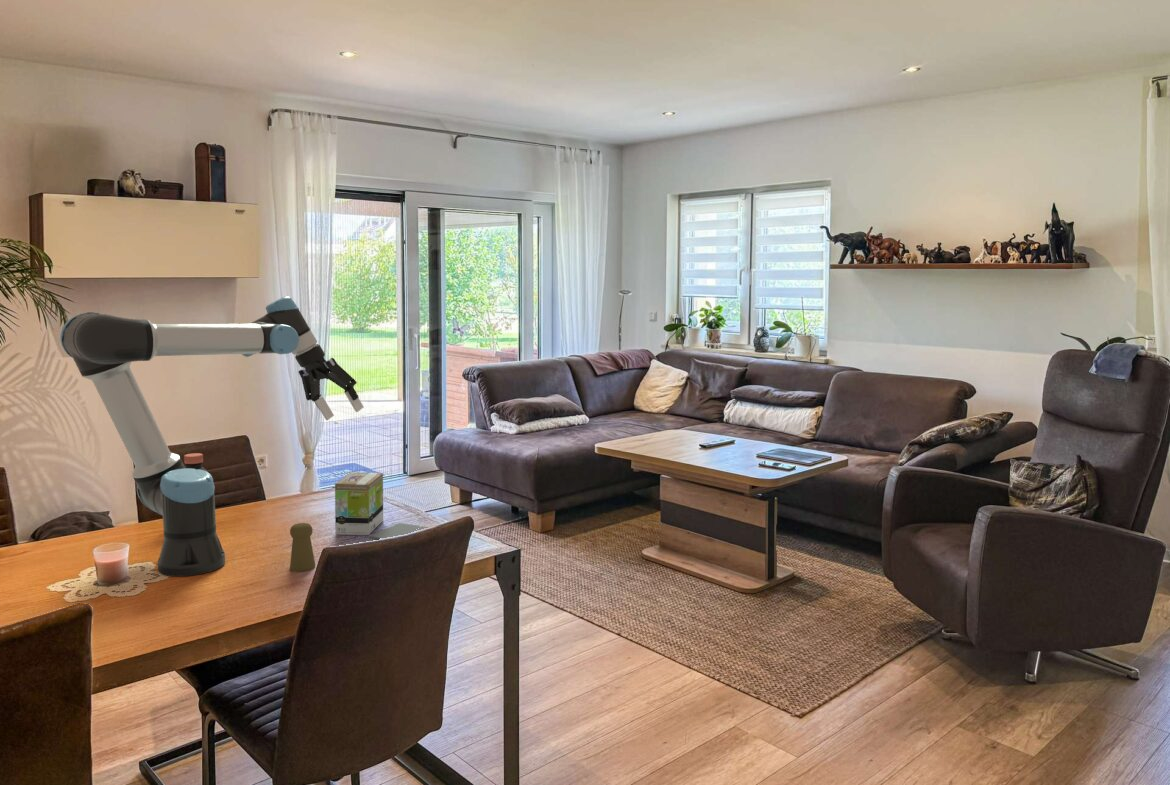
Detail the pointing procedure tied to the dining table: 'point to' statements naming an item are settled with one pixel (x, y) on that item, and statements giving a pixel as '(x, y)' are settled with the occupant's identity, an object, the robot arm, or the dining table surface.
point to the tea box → (358, 503)
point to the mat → (396, 531)
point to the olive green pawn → (301, 548)
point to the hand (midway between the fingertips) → (344, 414)
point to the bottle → (194, 461)
